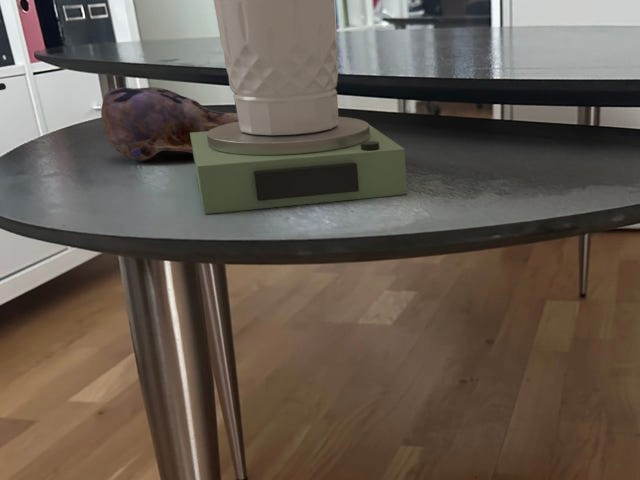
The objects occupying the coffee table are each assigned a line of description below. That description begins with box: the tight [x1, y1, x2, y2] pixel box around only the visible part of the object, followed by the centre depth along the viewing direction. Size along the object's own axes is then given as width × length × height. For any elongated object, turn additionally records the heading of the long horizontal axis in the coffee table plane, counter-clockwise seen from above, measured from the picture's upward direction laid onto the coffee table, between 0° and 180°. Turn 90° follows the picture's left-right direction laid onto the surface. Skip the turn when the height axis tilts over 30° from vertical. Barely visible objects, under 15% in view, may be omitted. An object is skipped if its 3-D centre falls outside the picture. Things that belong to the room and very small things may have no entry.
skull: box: [100, 86, 238, 162], centre depth 69 cm, size 12×8×6 cm, turn 88°
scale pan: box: [207, 116, 370, 155], centre depth 59 cm, size 11×11×1 cm
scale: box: [190, 119, 408, 215], centre depth 59 cm, size 13×13×3 cm
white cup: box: [213, 0, 339, 135], centre depth 57 cm, size 8×8×10 cm
